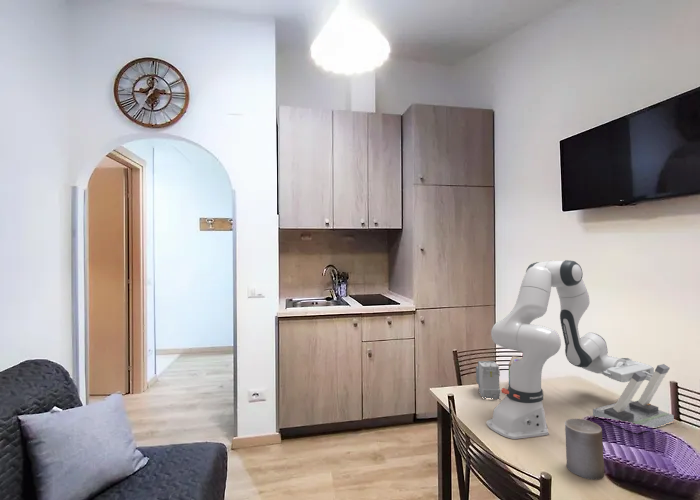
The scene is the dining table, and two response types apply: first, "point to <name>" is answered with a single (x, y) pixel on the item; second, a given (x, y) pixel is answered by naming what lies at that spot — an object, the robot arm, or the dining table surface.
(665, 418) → the panel
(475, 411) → the dining table surface
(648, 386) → the lever
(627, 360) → the robot arm
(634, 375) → the left lever
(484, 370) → the circuit breaker
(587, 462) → the pillar candle
